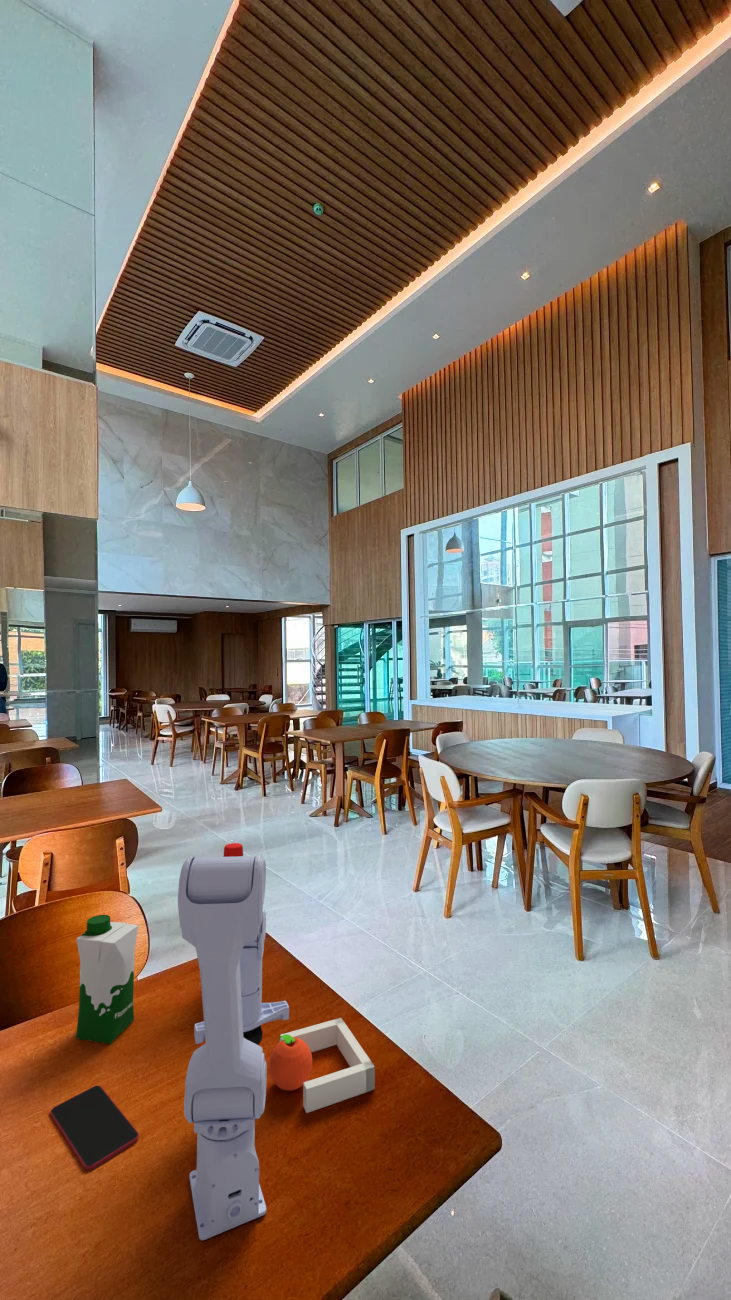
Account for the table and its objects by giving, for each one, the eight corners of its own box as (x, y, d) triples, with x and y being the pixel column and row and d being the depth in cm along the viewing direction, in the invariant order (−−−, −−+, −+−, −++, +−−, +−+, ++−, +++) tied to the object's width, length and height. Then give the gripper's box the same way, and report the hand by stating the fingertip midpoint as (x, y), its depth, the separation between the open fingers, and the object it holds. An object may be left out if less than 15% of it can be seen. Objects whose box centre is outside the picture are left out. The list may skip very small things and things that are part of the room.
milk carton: (100, 1012, 107) (103, 908, 108) (141, 1018, 106) (144, 912, 107) (67, 1041, 99) (71, 928, 100) (112, 1048, 97) (115, 933, 98)
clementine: (258, 1078, 90) (259, 1033, 90) (295, 1060, 94) (296, 1018, 94) (281, 1109, 84) (282, 1060, 84) (320, 1088, 88) (320, 1042, 88)
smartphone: (98, 1083, 88) (141, 1135, 78) (98, 1089, 88) (141, 1142, 78) (48, 1109, 83) (86, 1169, 73) (48, 1115, 83) (86, 1176, 73)
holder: (374, 1089, 88) (374, 1066, 88) (306, 1113, 83) (306, 1089, 83) (341, 1037, 100) (341, 1017, 100) (280, 1055, 95) (280, 1034, 96)
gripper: (280, 964, 93) (279, 1047, 92) (192, 984, 87) (190, 1073, 86) (293, 985, 87) (292, 1074, 86) (199, 1008, 81) (197, 1104, 80)
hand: (242, 1075), depth 86 cm, fingers closed
